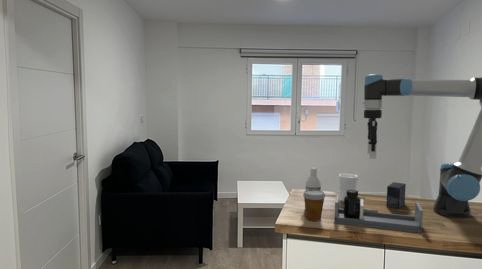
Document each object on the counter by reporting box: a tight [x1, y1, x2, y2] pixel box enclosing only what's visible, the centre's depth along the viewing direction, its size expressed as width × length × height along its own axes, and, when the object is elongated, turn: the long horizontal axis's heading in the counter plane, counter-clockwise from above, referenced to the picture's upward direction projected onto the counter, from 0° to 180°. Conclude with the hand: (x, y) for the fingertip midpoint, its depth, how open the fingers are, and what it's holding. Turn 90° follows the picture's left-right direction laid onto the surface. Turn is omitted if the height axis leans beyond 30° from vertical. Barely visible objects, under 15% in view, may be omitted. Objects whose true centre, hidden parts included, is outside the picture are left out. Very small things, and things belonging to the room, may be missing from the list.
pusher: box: [360, 198, 379, 219], centre depth 161 cm, size 7×10×7 cm
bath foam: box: [305, 166, 322, 191], centre depth 175 cm, size 7×7×20 cm
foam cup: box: [337, 172, 359, 202], centre depth 191 cm, size 10×9×13 cm
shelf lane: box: [333, 194, 424, 234], centre depth 160 cm, size 34×14×9 cm, turn 72°
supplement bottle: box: [343, 190, 361, 219], centre depth 163 cm, size 7×7×12 cm
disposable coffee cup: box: [302, 189, 326, 222], centre depth 163 cm, size 10×10×12 cm
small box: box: [386, 182, 407, 210], centre depth 183 cm, size 11×6×10 cm, turn 143°
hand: (371, 156), depth 170 cm, fingers open, 13 cm apart
